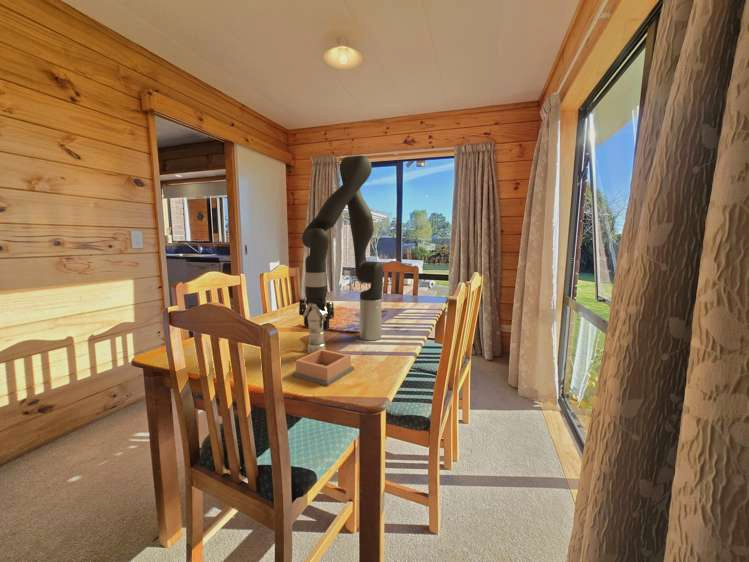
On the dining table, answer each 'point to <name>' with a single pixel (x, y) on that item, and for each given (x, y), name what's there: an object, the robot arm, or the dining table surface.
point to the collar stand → (323, 367)
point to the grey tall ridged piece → (315, 331)
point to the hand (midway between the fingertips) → (316, 328)
